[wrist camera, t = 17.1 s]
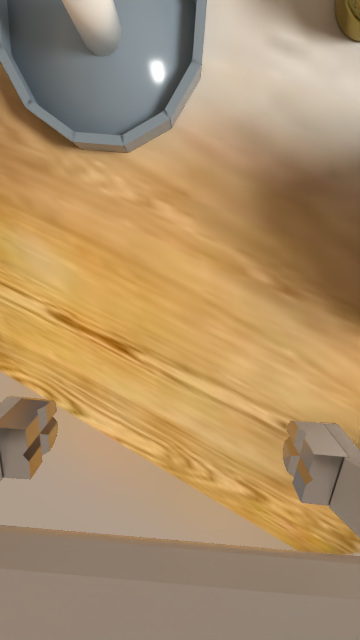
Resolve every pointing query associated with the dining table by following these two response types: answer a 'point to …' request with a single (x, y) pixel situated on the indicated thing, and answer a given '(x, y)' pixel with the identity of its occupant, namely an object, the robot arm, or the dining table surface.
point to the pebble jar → (96, 24)
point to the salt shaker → (349, 17)
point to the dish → (104, 69)
